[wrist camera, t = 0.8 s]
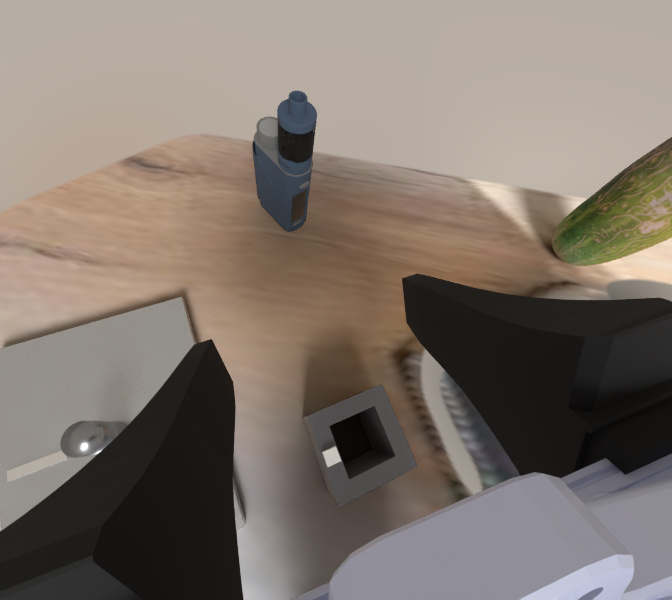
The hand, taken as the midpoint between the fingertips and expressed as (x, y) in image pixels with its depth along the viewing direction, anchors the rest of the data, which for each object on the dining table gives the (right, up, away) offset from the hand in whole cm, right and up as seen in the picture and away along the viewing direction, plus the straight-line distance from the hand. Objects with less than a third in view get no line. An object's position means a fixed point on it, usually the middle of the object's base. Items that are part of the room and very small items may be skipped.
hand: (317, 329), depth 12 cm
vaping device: (-4, +9, +18) cm, 21 cm away
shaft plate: (-14, -8, +9) cm, 18 cm away
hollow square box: (+1, -9, +11) cm, 15 cm away
